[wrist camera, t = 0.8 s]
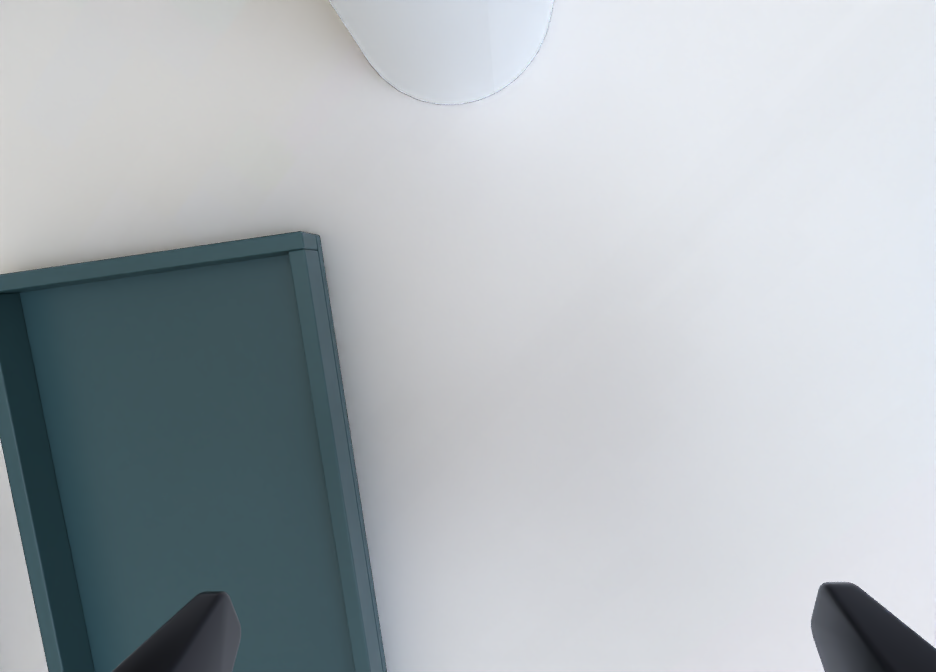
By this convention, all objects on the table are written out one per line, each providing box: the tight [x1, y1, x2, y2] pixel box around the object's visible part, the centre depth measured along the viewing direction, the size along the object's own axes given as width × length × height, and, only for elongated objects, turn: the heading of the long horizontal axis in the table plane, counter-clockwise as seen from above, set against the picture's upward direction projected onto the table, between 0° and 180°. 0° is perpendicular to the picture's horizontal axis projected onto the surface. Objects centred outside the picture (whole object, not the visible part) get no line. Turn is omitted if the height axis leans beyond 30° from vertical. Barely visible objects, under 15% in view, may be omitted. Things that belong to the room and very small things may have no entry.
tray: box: [0, 231, 387, 672], centre depth 23 cm, size 19×12×2 cm, turn 8°
